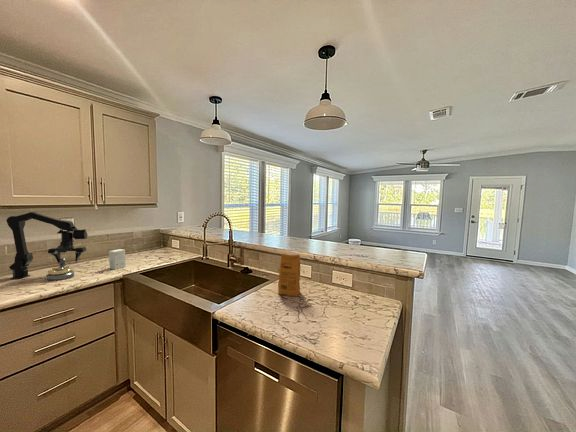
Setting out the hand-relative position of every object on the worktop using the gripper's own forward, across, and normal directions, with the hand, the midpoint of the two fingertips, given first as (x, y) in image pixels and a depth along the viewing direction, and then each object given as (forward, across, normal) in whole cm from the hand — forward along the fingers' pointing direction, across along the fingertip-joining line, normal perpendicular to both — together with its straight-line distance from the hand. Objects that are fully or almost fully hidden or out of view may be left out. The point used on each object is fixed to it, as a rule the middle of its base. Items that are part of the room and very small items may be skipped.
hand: (67, 262), depth 164 cm
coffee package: (+6, +132, -79) cm, 154 cm away
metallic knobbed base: (+4, -1, -7) cm, 8 cm away
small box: (+7, +27, +6) cm, 29 cm away
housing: (+8, 0, -8) cm, 11 cm away
